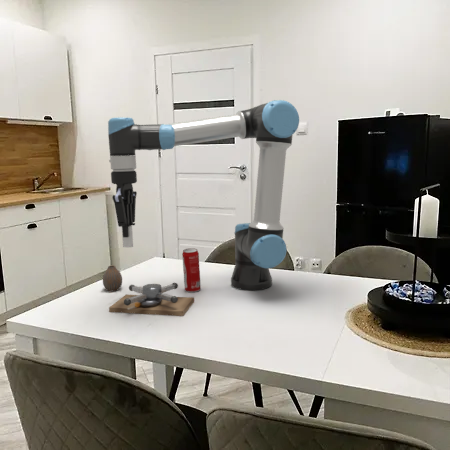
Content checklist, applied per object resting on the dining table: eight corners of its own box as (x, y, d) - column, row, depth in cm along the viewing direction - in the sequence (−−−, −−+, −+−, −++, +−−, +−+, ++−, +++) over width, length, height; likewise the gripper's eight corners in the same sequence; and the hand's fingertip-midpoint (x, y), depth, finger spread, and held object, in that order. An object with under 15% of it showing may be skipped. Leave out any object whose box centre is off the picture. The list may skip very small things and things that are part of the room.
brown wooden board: (194, 301, 150) (194, 296, 149) (181, 317, 136) (181, 311, 136) (126, 298, 154) (125, 293, 154) (107, 313, 141) (107, 307, 140)
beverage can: (201, 287, 165) (200, 247, 162) (199, 293, 158) (197, 251, 156) (185, 287, 165) (184, 247, 163) (182, 293, 159) (180, 251, 157)
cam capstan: (155, 286, 161) (154, 273, 160) (201, 299, 147) (201, 284, 146) (102, 304, 144) (101, 288, 143) (149, 319, 130) (148, 302, 129)
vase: (120, 292, 161) (118, 268, 160) (100, 292, 161) (99, 268, 160) (124, 286, 168) (123, 263, 167) (106, 286, 168) (104, 263, 167)
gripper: (120, 169, 143) (125, 242, 147) (102, 171, 131) (107, 251, 135) (143, 169, 142) (147, 242, 146) (126, 171, 129) (131, 251, 133)
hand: (128, 246), depth 140 cm, fingers closed
